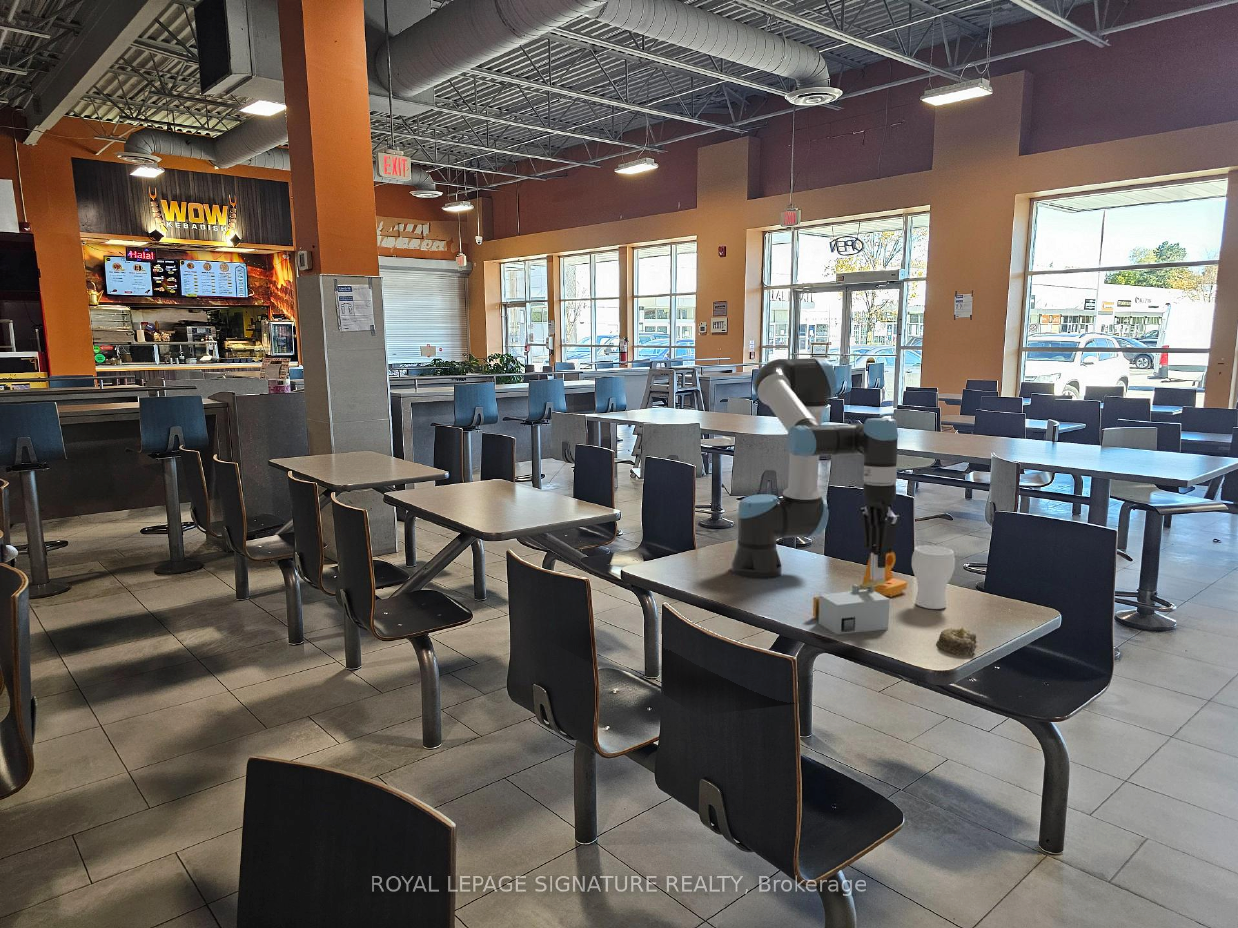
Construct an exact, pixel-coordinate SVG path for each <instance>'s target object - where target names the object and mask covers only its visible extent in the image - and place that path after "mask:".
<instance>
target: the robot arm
mask: <svg viewBox="0 0 1238 928" xmlns="http://www.w3.org/2000/svg"><path fill="white" fill-rule="evenodd" d="M837 380H838V379H837V373H836V370H835V368H834V367H833V364H832V363H831V362H830V361H829V360H827V359H824V358H815V357H813V358H810V357H809V358H808V357H807V358H777V359H773V360H771V361H768V362H767V363H765V364H764V365H763V366H761V368H760V369H759V371H757V374H756V376H755V378H754V381H753V387H754V391H755V396H757V398H758V399H759V401H760V402H762V404H764V405H766V406H768V407H769V408H770V410H771V411H772V412H773V413H774V415H775V416H776V418H777V419H778V420H779V422H780V423H781V424H782V426H783V428H784V429H785V430H786V431H787V437H786V439H787V440H786V444H787V447H788V451H789V466H788V467H789V468H788V482H787V483H788V484H787V485H788V487H787V488H786V489H784V490H782V498H781V499H779V498H778V496H777V495H774V494H769V493H768V494H767V493H766V494H763V493H762V494H761V493H760V494H754V495H750V496H746V497H744V498H742V499H741V500H740V501H739V503H738V509H737V548H736V550H735V553H734V555H733V559H732V561H731V570H732V571H731V570H730V571H731V572H732V574H734V575H736V576H739V577H742V578H748V579H758V580H759V579H762V580H764V579H772V578H776V577H779V576H781V575H782V571H783V570H782V569H783V567H782V562H781V559H780V556H779V552H778V548H777V539H781V538H784V539H785V538H810V537H816V536H820V535H821V534H822V533H823V532H824V531H825V529H826V527H827V524H828V520H829V509H828V508H829V507H828V503H827V501H826V499H825V498H823V495H822V493H821V491H819V490H818V482H819V481H818V480H819V467H820V466H819V465H820V464H819V463H820V456H845V455H846V456H848V455H850V456H851V455H860V456H861V455H862V456H863V478H862V479H863V481H864V482H865V483H863V485H862V498H863V499H864V500H865V501H866V502H865V506H864V507H859V515H860V517H861V525H862V535H863V545H864V546H863V547H864V548H865V549H867V550H868V552H869V554H870V555H869V557H870V564H871V572H870V579H871V580H874V581H877V580H885V566H886V554H888V553H892V551H893V550H894V544H895V539H896V533H897V528H898V527H897V526H898V523H899V522H900V519H901V518H900V515H899V514H896V515H895V513H894V512H893V509H894V508H893V503H892V502H893V501H895V500H896V498H897V485H896V484H895V483H896V482H897V481H898V480H897V479H898V478H897V477H898V475H897V473H898V471H897V470H898V467H897V463H898V462H897V461H898V438H899V433H898V422H897V420H896V419H894V418H889V417H888V418H887V417H872V418H867V419H866V420H865V421H864V423H861V422H859V423H855V422H854V423H848V424H822V419H823V418H822V415H823V410H825V409H826V408H827V407H828V404H829V400H830V399H832V398H834V397H835V396H836V393H837V390H838V382H837ZM893 552H894V551H893Z"/></svg>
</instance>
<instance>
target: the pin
mask: <svg viewBox="0 0 1238 928" xmlns="http://www.w3.org/2000/svg"><path fill="white" fill-rule="evenodd" d="M819 597H820V596H813V599H812V600H813V601H812V604H813V605H812V617H813V618H815V619H816V618H819ZM853 621H854V619H852V618H842V621H841V629H842V630H852V629H853Z"/></svg>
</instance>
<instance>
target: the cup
mask: <svg viewBox="0 0 1238 928" xmlns="http://www.w3.org/2000/svg"><path fill="white" fill-rule="evenodd" d="M913 550H914V551H913V552H912V555H911V568H912V571H913V575H914V576H915V578H916V582H917V592H916V595H915V596H916V597H915V601H914V603H915V604H916V605H917V606H919V607H920V608H921V607H922V608H925V609H931V610H940V609H945V608H946V607H947V597H946V591H947V585H948V583H949V581H950V580H951V578H952V576H953V574H954V571H955V566H956V559H955V558H956V557H955V555H954V554H955V553H954V551H953V549H951V548H949V547H944V546H939V545H931V544H930V545H929V544H928V545H917V546H916V547H914V549H913Z"/></svg>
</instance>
